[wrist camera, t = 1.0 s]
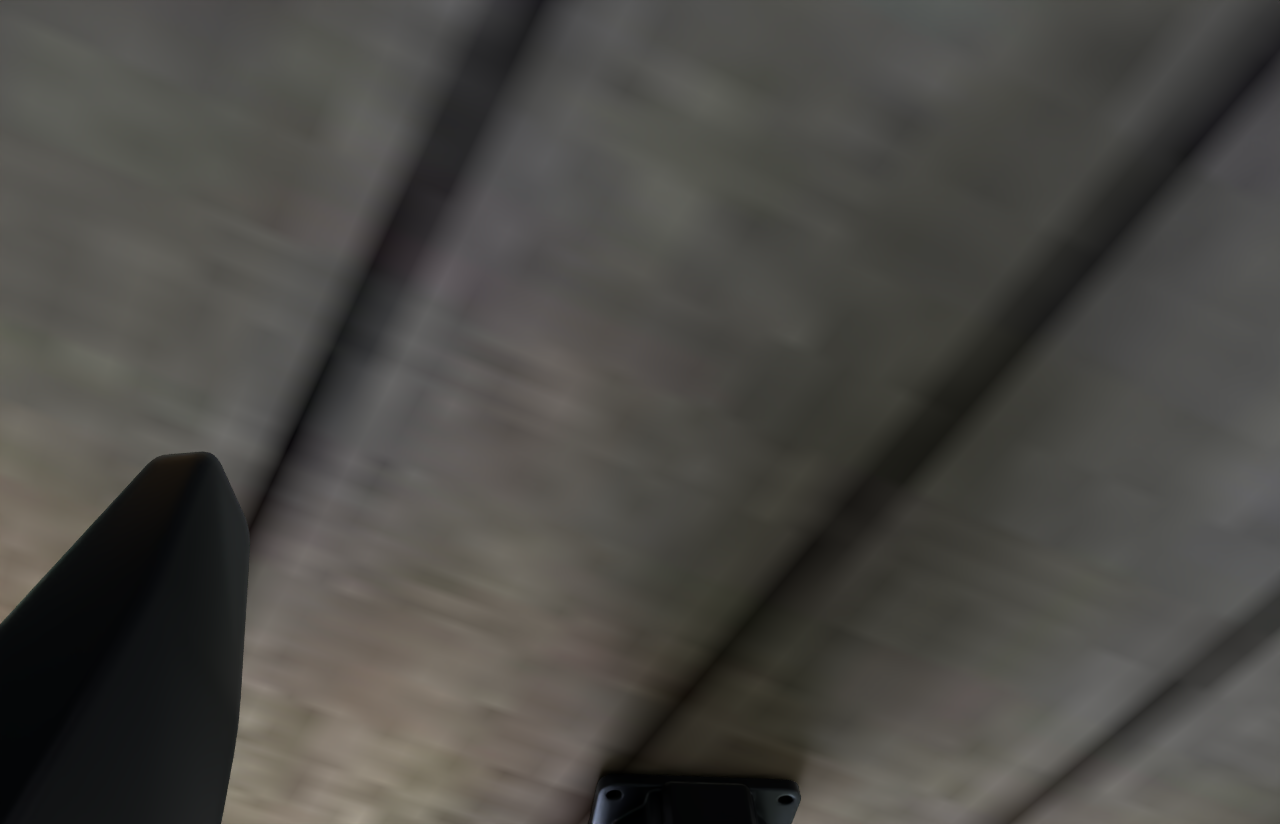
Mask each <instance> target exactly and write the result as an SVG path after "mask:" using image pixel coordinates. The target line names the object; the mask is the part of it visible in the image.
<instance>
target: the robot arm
mask: <svg viewBox="0 0 1280 824" xmlns="http://www.w3.org/2000/svg"><path fill="white" fill-rule="evenodd" d="M249 556H250V536H249V529H248V525H247V521H246V518H245V515H244V513H243V511H242V509H241V507H240V504H239V502H238V500H237V498H236V496H235V494H234V491H233V489H232V487H231V485H230V483H229V480H228V478H227V476H226V474H225V472H224V469H223V467H222V465H221V463H220V462H219V460H218V459H217V458H216V457H215V456H214V455H213V454H211V453H208V452H193V453H181V454H169V455H162V456H159V457H157V458H155V459H154V460H152V461H151V462H150V463H148V464H147V465H146V466H145V468H144V469H143V470H142V471H141V472H140V473H139V474H138V475H137V476H136V477H135V478H134V479H133V481H132V482H131V483H130V484H129V485H128V486H127V487H126V488H125V489H124V490H123V491H122V493H121V494H120V495H119V496H118V497H117V498H116V499H115V500H114V501H113V502H112V503H111V504H110V506H109V507H108V508H107V509H106V510H105V511H104V512H103V513H102V514H101V515H100V516H99V517H98V519H97V520H96V521H95V522H94V523H93V524H92V525H91V526H90V527H89V528H88V529H87V531H86V532H85V533H84V534H83V535H82V536H81V537H80V538H79V539H78V540H77V541H76V542H75V544H74V545H73V546H72V547H71V548H70V549H69V550H68V551H67V552H66V553H65V554H64V555H63V557H62V558H61V559H60V560H59V561H58V562H57V563H56V564H55V565H54V566H53V567H52V568H51V570H50V571H49V572H48V573H47V574H46V575H45V576H44V577H43V578H42V579H41V580H40V582H39V583H38V584H37V585H36V586H35V587H34V588H33V589H32V590H31V591H30V592H29V593H28V595H27V596H26V597H25V598H24V599H23V600H22V601H21V602H20V603H19V604H18V605H17V606H16V608H15V609H14V610H13V611H12V612H11V613H10V614H9V615H8V616H7V617H6V618H5V619H4V621H3V622H2V623H1V624H0V824H221V822H222V816H223V811H224V805H225V800H226V795H227V789H228V784H229V779H230V773H231V768H232V762H233V757H234V750H235V744H236V738H237V731H238V723H239V711H240V700H241V684H242V668H243V652H244V636H245V620H246V604H247V588H248V572H249ZM800 801H801V795H800V791H799V786H798V784H797V783H796V782H794V781H792V780H783V779H753V778H722V777H691V776H661V775H630V774H610V775H607V776H604V777H602V778H601V779H600V780H599V781H598V783H597V788H596V792H595V797H594V801H593V806H592V810H591V815H590V820H589V824H791V823H792V821H793V818H794V816H795V813H796V811H797V808H798V806H799V803H800Z"/></svg>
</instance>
